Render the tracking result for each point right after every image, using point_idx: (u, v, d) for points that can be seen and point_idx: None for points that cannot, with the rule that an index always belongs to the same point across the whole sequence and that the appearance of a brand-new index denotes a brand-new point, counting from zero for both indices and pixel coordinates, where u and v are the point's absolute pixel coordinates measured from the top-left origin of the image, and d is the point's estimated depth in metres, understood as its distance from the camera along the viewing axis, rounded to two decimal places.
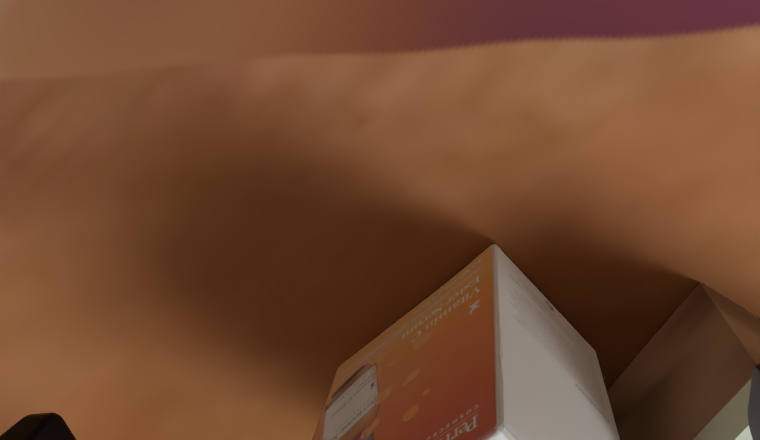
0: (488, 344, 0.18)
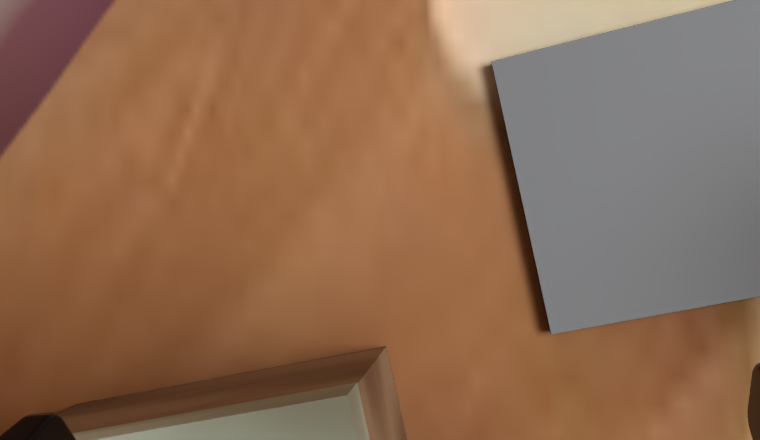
0: None
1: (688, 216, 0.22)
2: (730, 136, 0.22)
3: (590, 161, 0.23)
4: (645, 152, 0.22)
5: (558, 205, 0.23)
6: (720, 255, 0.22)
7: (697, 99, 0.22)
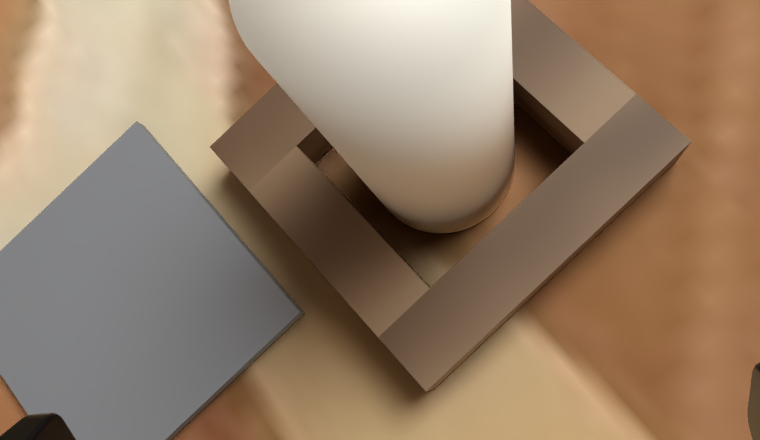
0: None
1: (151, 335, 0.23)
2: (151, 252, 0.24)
3: (57, 335, 0.24)
4: (95, 303, 0.24)
5: (48, 387, 0.24)
6: (191, 353, 0.23)
7: (113, 238, 0.24)
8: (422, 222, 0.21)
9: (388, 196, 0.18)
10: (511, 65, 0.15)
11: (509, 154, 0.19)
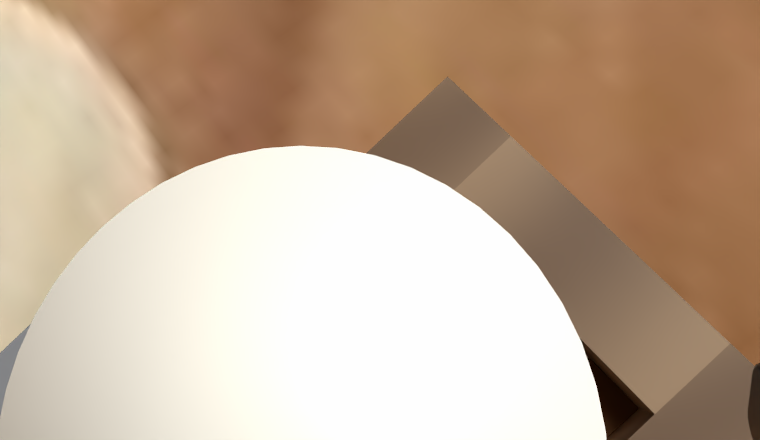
0: None
1: None
2: None
3: None
4: None
5: None
6: None
7: None
8: None
9: None
10: None
11: None
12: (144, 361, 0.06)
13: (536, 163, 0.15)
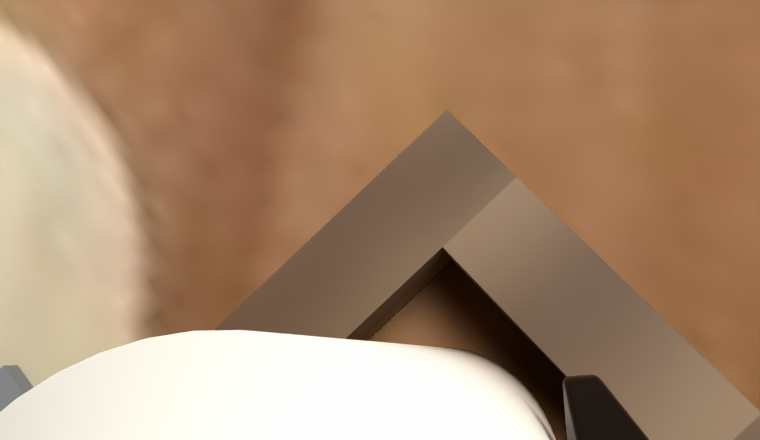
0: None
1: None
2: None
3: None
4: None
5: None
6: None
7: None
8: None
9: None
10: None
11: None
12: None
13: (545, 207, 0.14)
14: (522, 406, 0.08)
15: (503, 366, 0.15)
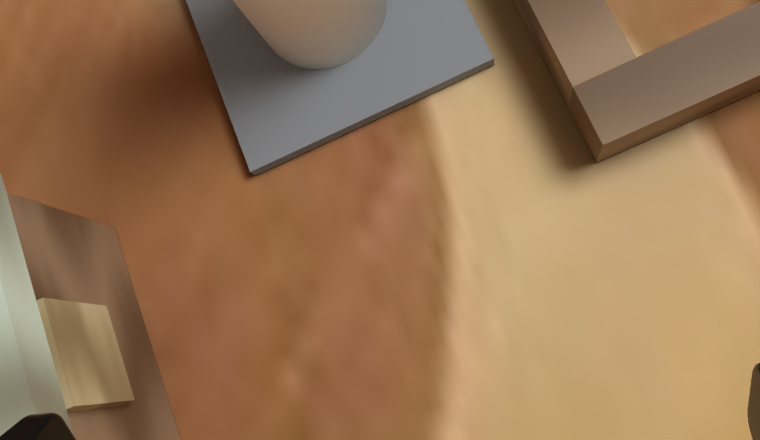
0: None
1: None
2: None
3: None
4: None
5: (240, 60, 0.25)
6: (380, 66, 0.24)
7: None
8: (293, 47, 0.23)
9: (246, 2, 0.21)
10: None
11: None
12: None
13: None
14: None
15: None
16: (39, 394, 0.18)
